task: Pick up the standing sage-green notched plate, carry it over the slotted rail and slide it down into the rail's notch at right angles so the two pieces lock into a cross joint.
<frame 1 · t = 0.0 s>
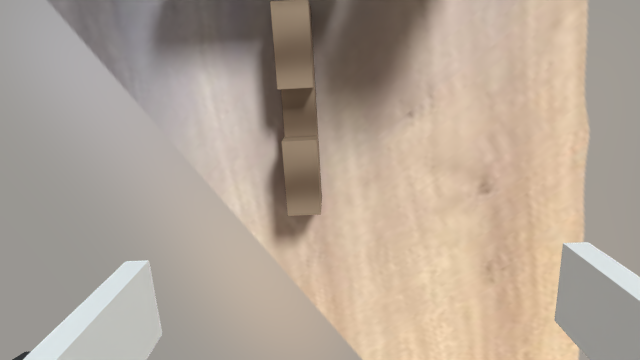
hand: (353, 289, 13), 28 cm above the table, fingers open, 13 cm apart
slotted rail: (301, 109, 39), on the table
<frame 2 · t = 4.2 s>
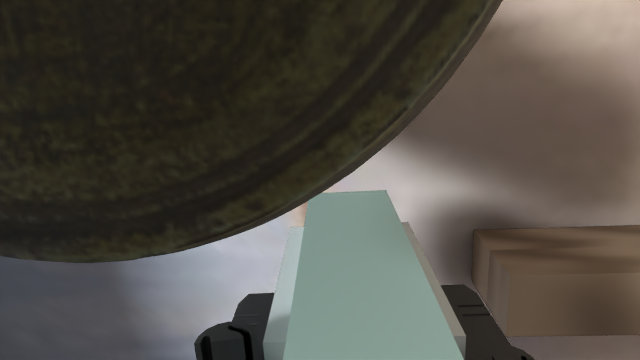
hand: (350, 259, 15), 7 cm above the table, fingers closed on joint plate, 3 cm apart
container: (293, 14, 20), on the table
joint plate: (353, 354, 17), point 7 cm above the table, touching gripper
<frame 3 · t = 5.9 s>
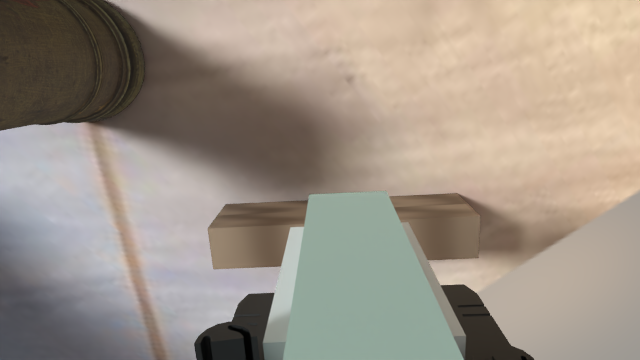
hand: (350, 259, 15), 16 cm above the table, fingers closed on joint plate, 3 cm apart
container: (84, 58, 30), on the table
slotted rail: (341, 217, 32), on the table
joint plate: (353, 356, 17), point 16 cm above the table, touching gripper
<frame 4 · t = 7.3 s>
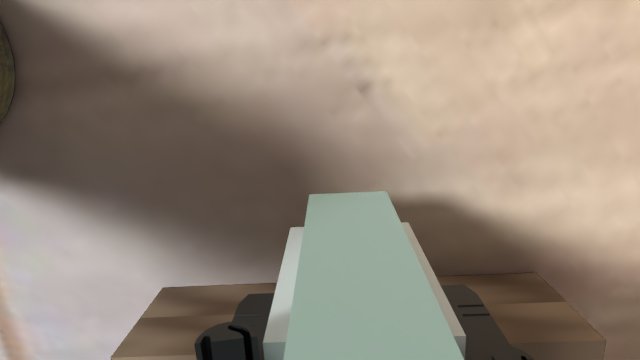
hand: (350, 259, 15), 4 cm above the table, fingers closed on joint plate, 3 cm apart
slotted rail: (348, 307, 20), on the table
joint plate: (353, 356, 17), point 3 cm above the table, touching gripper
when the fingers open (1 cm above the table, at t = 8.1 s): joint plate stays where it is, on the table.
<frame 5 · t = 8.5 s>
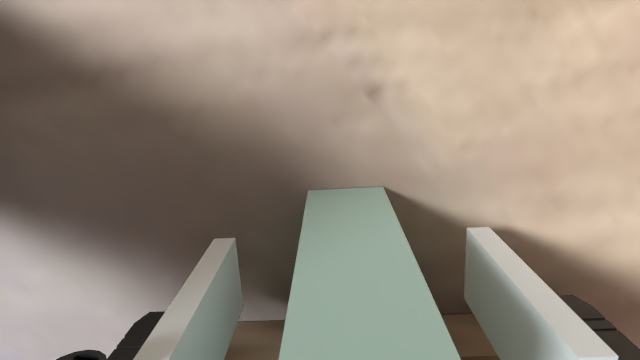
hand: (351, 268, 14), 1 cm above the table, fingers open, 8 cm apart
slotted rail: (353, 349, 17), on the table
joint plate: (352, 348, 17), on the table
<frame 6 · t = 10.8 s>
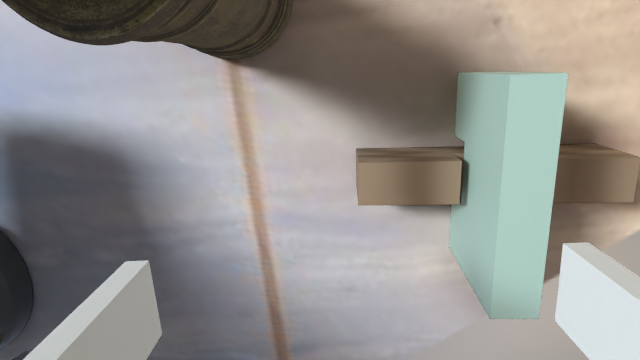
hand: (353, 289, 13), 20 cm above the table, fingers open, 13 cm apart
slotted rail: (472, 165, 32), on the table
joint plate: (471, 164, 32), on the table
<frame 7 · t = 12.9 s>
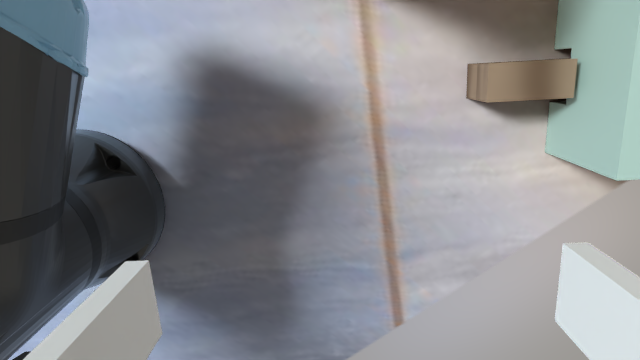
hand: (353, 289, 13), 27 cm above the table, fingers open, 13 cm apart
slotted rail: (568, 75, 37), on the table
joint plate: (567, 75, 37), on the table
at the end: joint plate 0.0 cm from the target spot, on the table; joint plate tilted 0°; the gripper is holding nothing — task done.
